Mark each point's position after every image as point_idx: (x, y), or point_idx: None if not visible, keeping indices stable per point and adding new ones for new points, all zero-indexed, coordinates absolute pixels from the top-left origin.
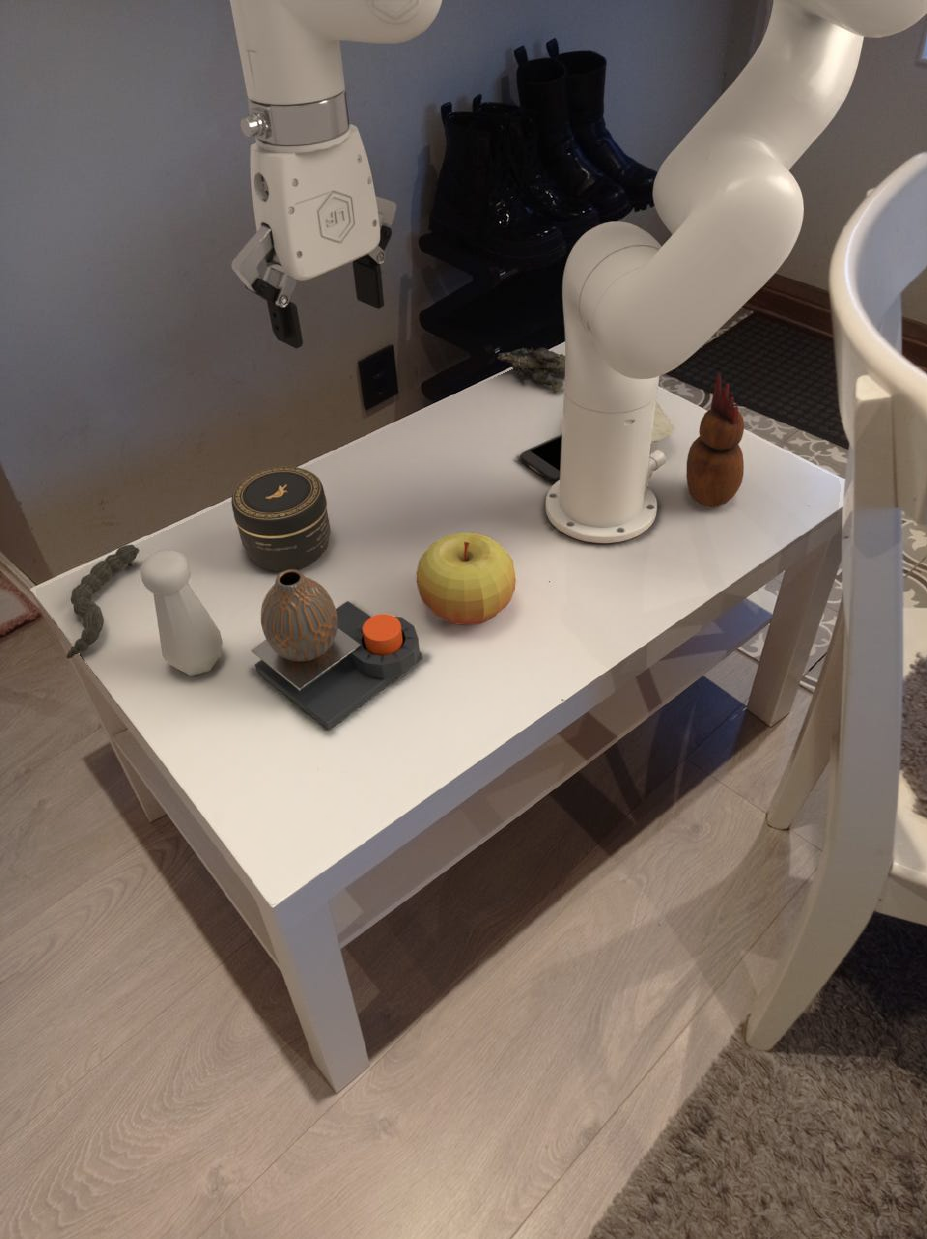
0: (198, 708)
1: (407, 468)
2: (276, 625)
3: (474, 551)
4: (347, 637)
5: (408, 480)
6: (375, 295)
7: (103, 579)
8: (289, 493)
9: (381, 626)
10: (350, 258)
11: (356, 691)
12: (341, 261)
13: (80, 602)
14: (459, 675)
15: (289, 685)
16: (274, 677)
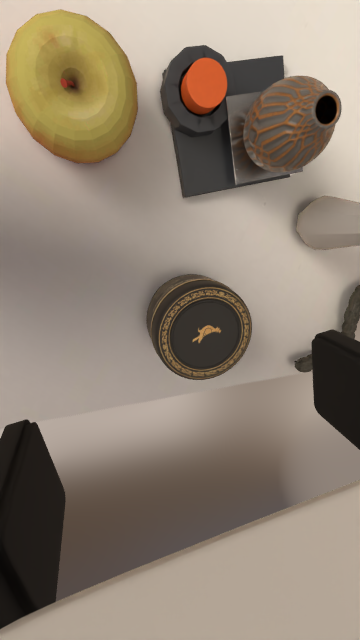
0: (335, 170)
1: (18, 363)
2: (332, 103)
3: (57, 78)
4: (230, 118)
5: (28, 344)
6: (28, 452)
7: None
8: (197, 324)
9: (207, 83)
10: (227, 553)
11: (242, 71)
12: (316, 524)
13: (355, 326)
14: (143, 19)
15: None
16: None
